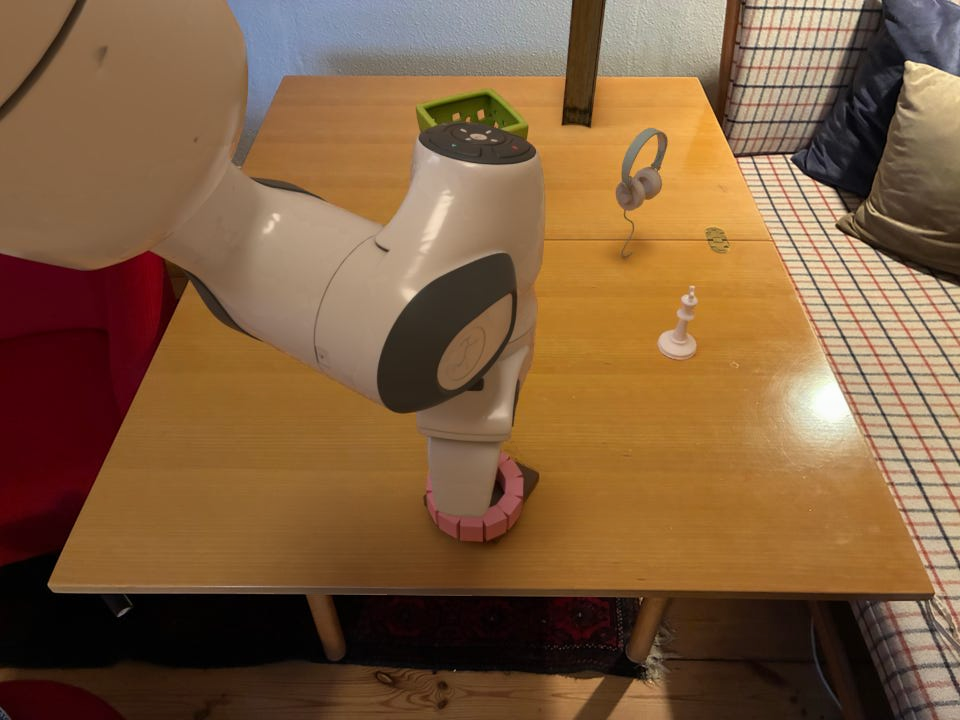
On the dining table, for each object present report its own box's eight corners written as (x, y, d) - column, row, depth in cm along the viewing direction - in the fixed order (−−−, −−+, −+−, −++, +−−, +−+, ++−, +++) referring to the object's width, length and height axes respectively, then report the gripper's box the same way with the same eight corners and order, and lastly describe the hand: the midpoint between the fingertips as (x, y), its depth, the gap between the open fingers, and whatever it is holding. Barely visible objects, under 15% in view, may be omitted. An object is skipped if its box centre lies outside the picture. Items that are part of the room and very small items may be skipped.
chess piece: (695, 335, 91) (713, 276, 84) (696, 362, 88) (715, 302, 81) (657, 331, 92) (671, 271, 84) (657, 357, 88) (672, 298, 81)
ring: (521, 544, 69) (522, 529, 67) (422, 538, 69) (420, 523, 67) (523, 462, 75) (524, 447, 73) (433, 458, 76) (432, 442, 74)
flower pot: (418, 173, 119) (412, 102, 110) (491, 155, 123) (491, 85, 114) (450, 216, 110) (447, 142, 101) (528, 195, 114) (532, 122, 105)
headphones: (619, 275, 100) (642, 149, 85) (597, 263, 102) (616, 137, 87) (654, 250, 104) (681, 126, 89) (632, 239, 106) (656, 115, 91)
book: (567, 88, 141) (579, -49, 123) (594, 90, 140) (610, -48, 122) (561, 127, 130) (573, -17, 112) (590, 129, 129) (607, -16, 111)
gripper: (449, 252, 59) (452, 368, 69) (411, 439, 44) (421, 552, 54) (524, 257, 59) (515, 372, 68) (510, 447, 44) (501, 559, 54)
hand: (473, 453), depth 61 cm, fingers open, 8 cm apart
